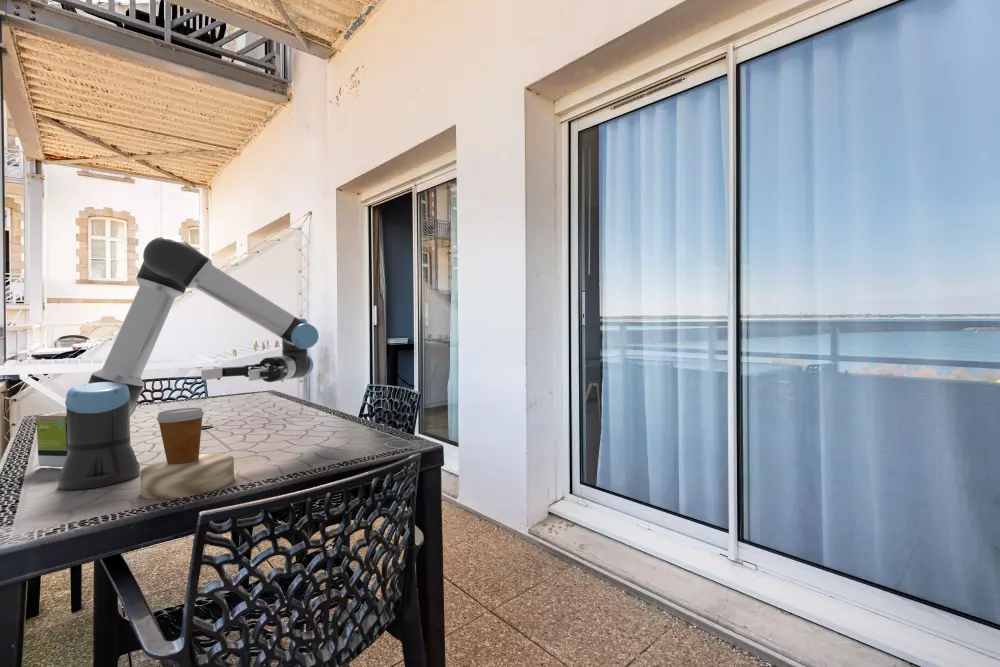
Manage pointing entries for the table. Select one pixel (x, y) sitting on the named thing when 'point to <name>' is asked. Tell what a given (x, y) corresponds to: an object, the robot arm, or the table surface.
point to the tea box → (52, 439)
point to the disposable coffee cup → (181, 433)
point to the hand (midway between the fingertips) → (226, 375)
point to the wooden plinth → (187, 477)
